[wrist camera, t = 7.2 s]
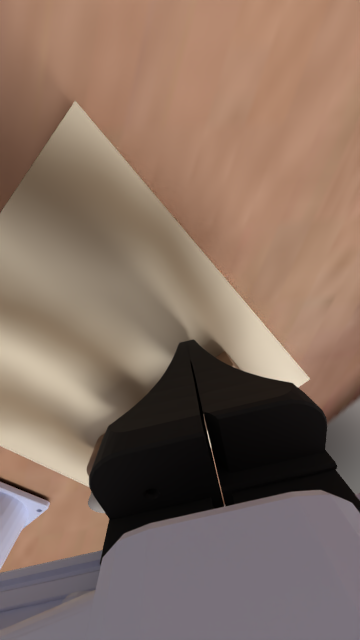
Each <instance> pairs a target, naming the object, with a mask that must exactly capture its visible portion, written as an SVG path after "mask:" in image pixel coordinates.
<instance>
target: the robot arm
mask: <svg viewBox="0 0 360 640" xmlns="http://www.w3.org/2000/svg"><path fill="white" fill-rule="evenodd" d="M203 414H204V415H203ZM204 418H205V421H204ZM205 422H206V426H207V430H208V434H209V439H210V443H211V447H212V451H213V455H214V459H215V463H216V468H217V472H218V476H219V480H220V485H221V489H222V493H223V497H224V501H225V505H226V506H225V507H224V504H223V500H222V496H221V491H220V487H219V483H218V478H217V474H216V470H215V465H214V461H213V456H212V452H211V448H210V443H209V439H208V435H207V430H206V426H205ZM326 432H327V420H326V416H325V415H324V413H323V411H322V410H321V409H320V408H319V407H318V406H317V405H316V404H315V403H314V402H313V401H312V400H311V399H310V398H309V397H308V396H307V395H306V394H305V393H304V392H303V391H301V390H300V389H299V388H298V387H297V386H295V385H294V384H293V383H290V382H285V381H280V380H275V379H270V378H265V377H261V376H258V375H254V374H251V373H248V372H245V371H242V370H240V369H237V368H234V367H232V366H230V365H228V364H226V363H224V362H222V361H220V360H219V359H217V358H216V357H214V356H213V355H211V354H210V353H208V352H207V351H206V350H205V349H203V348H202V347H201V346H200V345H199V344H198V343H197V342H196V341H195V340H194V339H193V340H189V341H184V342H180V343H179V344H178V347H177V349H176V352H175V354H174V356H173V359H172V361H171V363H170V364H169V366H168V368H167V370H166V371H165V373H164V374H163V376H162V377H161V379H160V380H159V381H158V382H157V384H156V385H155V386H154V387H153V388H152V389H151V390H150V391H149V392H148V394H147V395H146V396H144V397H143V398H142V399H141V400H140V401H139V402H138V403H137V404H136V405H135V406H134V407H132V408H131V409H130V410H129V411H127V412H126V413H125V414H123V415H122V416H121V417H120V418H118V419H117V420H116V421H114V422H113V423H112V424H110V425H109V426H108V428H107V430H106V432H105V434H104V437H103V439H102V442H101V444H100V447H99V450H98V453H97V455H96V458H95V461H94V464H93V467H92V470H91V472H90V475H89V487H90V489H91V491H92V494H93V496H94V497H95V499H96V500H97V501H98V503H99V504H100V506H101V507H102V509H103V510H104V512H105V513H106V515H107V516H108V517H109V524H108V528H107V533H106V537H105V542H104V546H103V550H101V551H97V552H92V553H88V554H83V555H79V556H74V557H70V558H65V559H61V560H56V561H52V562H47V563H43V564H38V565H34V566H29V567H25V568H20V569H16V570H11V571H7V572H2V573H0V640H360V493H359V494H354V493H353V492H352V490H351V489H350V488H349V486H348V485H347V484H346V483H345V481H344V480H343V479H342V477H340V475H339V474H338V473H337V471H336V470H335V469H336V468H337V465H336V463H335V461H334V460H333V459H332V458H331V456H330V455H329V454H328V453H327V452H326V450H325V443H326ZM49 505H50V503H49V501H47V500H44V499H42V498H40V497H37V496H35V495H32V494H30V493H27V492H25V491H22V490H20V489H17V488H15V487H12V486H10V485H7V484H5V483H2V482H0V569H1V567H2V566H3V564H4V562H5V560H6V558H7V556H8V554H9V553H10V551H11V549H12V547H13V545H14V543H15V541H16V539H17V538H18V536H19V534H20V532H21V530H22V529H23V528H24V527H26V526H27V525H28V524H29V523H31V522H32V521H33V520H34V519H36V518H37V517H38V516H39V515H41V514H42V513H43V512H44V511H45V510H47V509H48V507H49Z"/></svg>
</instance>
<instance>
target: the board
mask: <svg viewBox="0 0 360 640" xmlns="http://www.w3.org/2000/svg"><path fill="white" fill-rule="evenodd" d="M193 339H194V340H195V341H196V342H197V343H198V344H199V345H200V346H201V347H202V348H203V349H205V350H206V351H207V352H208V353H210V354H211V355H213V356H214V357H217V356H218V355H220V354H221V353H222V352H224V351H225V352H226V353H227V354H228V355H229V356H230V357H231V359H232V360H233V361H234V362H235V363H236V365H237V366H238V367H239V368H240V369H241V370H242V371H245V372H248V373H251V374H254V375H258V376H261V377H265V378H270V379H275V380H280V381H285V382H290V383H293V384H294V385H295V386H297V387H299V386H301V385H302V384H304V383H305V382H307V381H308V380H309V379H310V378H309V377H308V376H307V375H306V374H305V372H304V371H303V370H302V369H301V368H300V366H299V365H298V364H297V363H296V362H295V361H294V359H293V358H292V357H291V356H290V355H289V353H288V352H287V351H286V350H285V349H284V348H283V346H282V345H281V344H280V343H279V342H278V340H277V339H276V338H275V337H274V336H273V335H272V333H271V332H270V331H269V330H268V329H267V327H266V326H265V325H264V324H263V323H262V321H261V320H260V319H259V318H258V317H257V316H256V314H255V313H254V312H253V311H252V310H251V308H250V307H249V306H248V305H247V304H246V303H245V301H244V300H243V299H242V298H241V297H240V295H239V294H238V293H237V292H236V291H235V289H234V288H233V287H232V286H231V285H230V284H229V282H228V281H227V280H226V279H225V278H224V276H223V275H222V274H221V273H220V272H219V271H218V269H217V268H216V267H215V266H214V265H213V263H212V262H211V261H210V260H209V259H208V257H207V256H206V255H205V254H204V253H203V252H202V250H201V249H200V248H199V247H198V246H197V244H196V243H195V242H194V241H193V240H192V239H191V237H190V236H189V235H188V234H187V233H186V231H185V230H184V229H183V228H182V227H181V225H180V224H179V223H178V222H177V221H176V220H175V218H174V217H173V216H172V215H171V214H170V212H169V211H168V210H167V209H166V208H165V207H164V205H163V204H162V203H161V202H160V201H159V199H158V198H157V197H156V196H155V195H154V193H153V192H152V191H151V190H150V189H149V188H148V186H147V185H146V184H145V183H144V182H143V180H142V179H141V178H140V177H139V176H138V175H137V173H136V172H135V171H134V170H133V169H132V167H131V166H130V165H129V164H128V163H127V161H126V160H125V159H124V158H123V157H122V156H121V154H120V153H119V152H118V151H117V150H116V148H115V147H114V146H113V145H112V144H111V143H110V141H109V140H108V139H107V138H106V137H105V135H104V134H103V133H102V132H101V131H100V129H99V128H98V127H97V126H96V125H95V124H94V122H93V121H92V120H91V119H90V118H89V116H88V115H87V114H86V113H85V112H84V111H83V109H82V108H81V107H80V106H79V105H78V103H77V102H76V101H75V102H74V103H73V105H72V106H71V108H70V109H69V111H68V112H67V114H66V115H65V117H64V118H63V120H62V121H61V123H60V124H59V126H58V127H57V129H56V130H55V132H54V133H53V135H52V136H51V138H50V139H49V141H48V142H47V144H46V145H45V147H44V148H43V150H42V151H41V153H40V154H39V156H38V157H37V159H36V160H35V162H34V163H33V165H32V166H31V168H30V169H29V171H28V172H27V174H26V175H25V177H24V178H23V180H22V181H21V183H20V184H19V186H18V187H17V189H16V190H15V192H14V193H13V195H12V196H11V198H10V199H9V201H8V202H7V204H6V205H5V207H4V208H3V210H2V211H1V213H0V446H2V447H4V448H6V449H8V450H10V451H12V452H15V453H17V454H19V455H21V456H23V457H25V458H28V459H30V460H32V461H34V462H36V463H38V464H41V465H43V466H45V467H47V468H49V469H51V470H53V471H56V472H58V473H60V474H62V475H64V476H66V477H69V478H71V479H73V480H75V481H77V482H79V483H82V484H84V485H86V486H88V487H89V476H88V474H87V465H88V463H89V460H90V457H91V455H92V452H93V450H94V447H95V445H96V442H97V440H98V438H99V437H100V436H101V435H103V434H104V433H105V432H106V430H107V428H108V426H109V425H110V424H112V423H113V422H114V421H116V420H117V419H118V418H120V417H121V416H122V415H123V414H125V413H126V412H127V411H129V410H130V409H131V408H132V407H134V406H135V405H136V404H137V403H138V402H139V401H140V400H141V399H142V398H143V397H144V396H146V395H147V394H148V392H149V391H150V390H151V389H152V388H153V387H154V386H155V385H156V384H157V382H158V381H159V380H160V379H161V377H162V376H163V374H164V373H165V371H166V370H167V368H168V366H169V364H170V363H171V361H172V359H173V356H174V354H175V352H176V349H177V347H178V344H179V343H180V342H184V341H189V340H193ZM207 435H208V439H209V434H208V430H207ZM209 443H210V439H209ZM210 448H212V447H211V443H210Z"/></svg>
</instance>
